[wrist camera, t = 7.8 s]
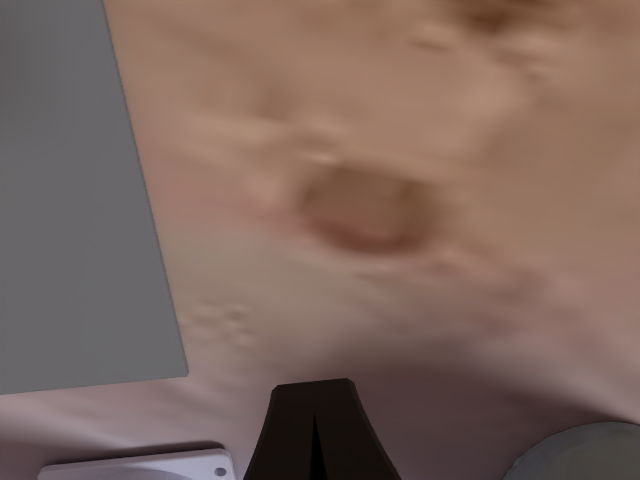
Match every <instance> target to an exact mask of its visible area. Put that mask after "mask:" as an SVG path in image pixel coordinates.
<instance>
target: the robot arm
mask: <svg viewBox="0 0 640 480" xmlns="http://www.w3.org/2000/svg"><path fill="white" fill-rule="evenodd" d="M219 468H223V469H219ZM37 480H236V477H235V473H234V468H233V463H232V458H231V455H230V453H229V452H228V451H227V450H224V449H219V448H217V449H207V450H197V451H187V452H178V453H168V454H158V455H148V456H138V457H128V458H118V459H108V460H98V461H88V462H78V463H69V464H59V465H49V466H45V467H43V468H42V469H41V470H40V473H39V475H38V477H37ZM243 480H402V479H401V477H400V476H399V474H398V472H397V470H396V469H395V467H394V465H393V464H392V462H391V460H390V459H389V457H388V455H387V454H386V452H385V450H384V448H383V447H382V445H381V443H380V441H379V439H378V437H377V436H376V434H375V432H374V430H373V428H372V426H371V424H370V422H369V420H368V417H367V415H366V413H365V411H364V409H363V406H362V404H361V402H360V399H359V396H358V394H357V391H356V388H355V384H354V382H352V381H351V380H350V379H348V378H343V379H333V380H323V381H313V382H303V383H293V384H283V385H277V386H276V387H275V388H274V389H273V390H272V393H271V399H270V403H269V407H268V411H267V415H266V418H265V422H264V425H263V428H262V431H261V434H260V437H259V440H258V442H257V445H256V448H255V451H254V453H253V456H252V458H251V461H250V463H249V466H248V468H247V471H246V473H245V476H244V478H243Z"/></svg>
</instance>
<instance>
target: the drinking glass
mask: <svg viewBox="0 0 640 480" xmlns="http://www.w3.org/2000/svg"><path fill="white" fill-rule="evenodd" d="M503 480H640V426H638V425H635V424H630V423H624V422H598V423H591V424H585V425H581V426H577V427H574V428H570V429H567V430H564V431H562V432H559V433H556V434H554V435H551V436H548V437H547V438H545V439H544V440H542V441H541V442H539V443H538V444H536V445H535V446H533V447H532V448H530V449H528V450H527V451H526V452H525V453H524V454H523V456H520V457H517V459H516V460H515V462H514V463H513V467H512V468H510V469H509V470H507V474H506V476H505V477H504V478H503Z"/></svg>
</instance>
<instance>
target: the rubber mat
mask: <svg viewBox="0 0 640 480" xmlns="http://www.w3.org/2000/svg"><path fill="white" fill-rule="evenodd" d="M188 372H189V370H188V366H187V361H186V357H185V353H184V348H183V344H182V340H181V336H180V331H179V327H178V323H177V318H176V314H175V310H174V306H173V301H172V297H171V293H170V288H169V284H168V280H167V275H166V271H165V267H164V263H163V258H162V254H161V250H160V245H159V241H158V237H157V232H156V228H155V224H154V220H153V215H152V211H151V207H150V202H149V198H148V194H147V189H146V185H145V181H144V177H143V172H142V168H141V164H140V159H139V155H138V151H137V147H136V142H135V138H134V134H133V129H132V125H131V121H130V116H129V112H128V108H127V104H126V99H125V95H124V91H123V86H122V82H121V78H120V73H119V69H118V65H117V61H116V56H115V52H114V48H113V43H112V39H111V35H110V30H109V26H108V22H107V18H106V13H105V9H104V5H103V0H0V395H4V394H14V393H24V392H34V391H44V390H54V389H64V388H74V387H85V386H95V385H105V384H115V383H125V382H135V381H145V380H155V379H165V378H176V377H186V376H188Z"/></svg>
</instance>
